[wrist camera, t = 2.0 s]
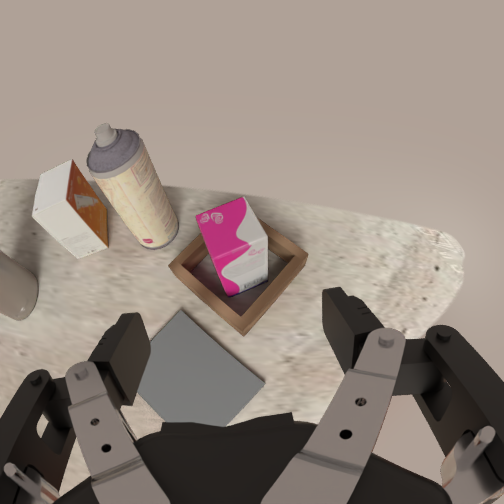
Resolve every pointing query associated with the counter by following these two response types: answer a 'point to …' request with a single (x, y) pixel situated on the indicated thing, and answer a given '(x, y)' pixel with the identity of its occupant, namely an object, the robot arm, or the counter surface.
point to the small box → (71, 210)
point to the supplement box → (236, 245)
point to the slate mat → (194, 377)
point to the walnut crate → (244, 323)
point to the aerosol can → (132, 185)
